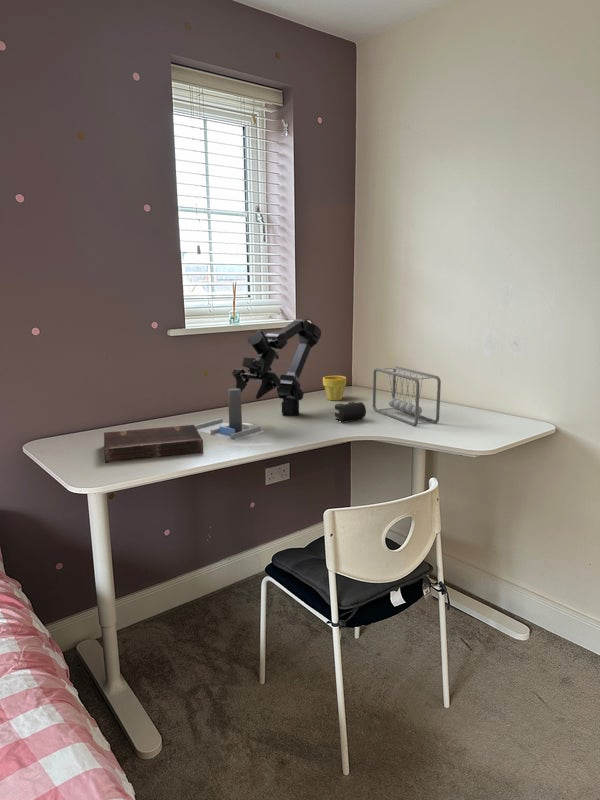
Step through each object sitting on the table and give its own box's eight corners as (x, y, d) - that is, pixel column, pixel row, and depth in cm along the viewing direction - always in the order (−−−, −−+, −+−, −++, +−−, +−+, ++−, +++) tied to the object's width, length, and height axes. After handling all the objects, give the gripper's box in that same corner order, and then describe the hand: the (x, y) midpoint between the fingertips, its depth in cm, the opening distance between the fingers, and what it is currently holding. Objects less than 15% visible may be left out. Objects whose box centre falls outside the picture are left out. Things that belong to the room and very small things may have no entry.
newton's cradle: (439, 424, 210) (441, 376, 207) (416, 427, 206) (417, 378, 202) (393, 407, 237) (394, 365, 233) (372, 410, 233) (372, 367, 229)
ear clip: (252, 428, 203) (252, 424, 203) (248, 429, 202) (248, 425, 201) (244, 426, 206) (244, 422, 205) (240, 427, 204) (240, 423, 204)
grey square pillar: (240, 429, 202) (239, 388, 199) (243, 432, 198) (242, 390, 195) (228, 430, 201) (226, 388, 198) (230, 434, 197) (229, 391, 193)
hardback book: (105, 464, 169) (104, 448, 168) (105, 447, 186) (103, 432, 185) (203, 454, 178) (202, 439, 177) (194, 438, 195) (193, 424, 194)
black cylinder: (344, 424, 211) (344, 406, 210) (333, 420, 217) (333, 403, 216) (366, 421, 216) (366, 403, 215) (355, 417, 222) (355, 400, 221)
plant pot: (318, 399, 254) (318, 377, 252) (332, 395, 262) (332, 374, 260) (336, 402, 248) (337, 380, 245) (350, 398, 255) (350, 377, 253)
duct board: (264, 432, 200) (264, 424, 200) (236, 441, 190) (236, 432, 189) (217, 422, 215) (216, 414, 214) (188, 430, 204) (188, 422, 204)
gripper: (233, 346, 208) (214, 381, 201) (275, 350, 198) (256, 386, 191) (248, 365, 216) (230, 399, 210) (288, 369, 206) (271, 405, 199)
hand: (246, 397), depth 202 cm, fingers open, 9 cm apart
